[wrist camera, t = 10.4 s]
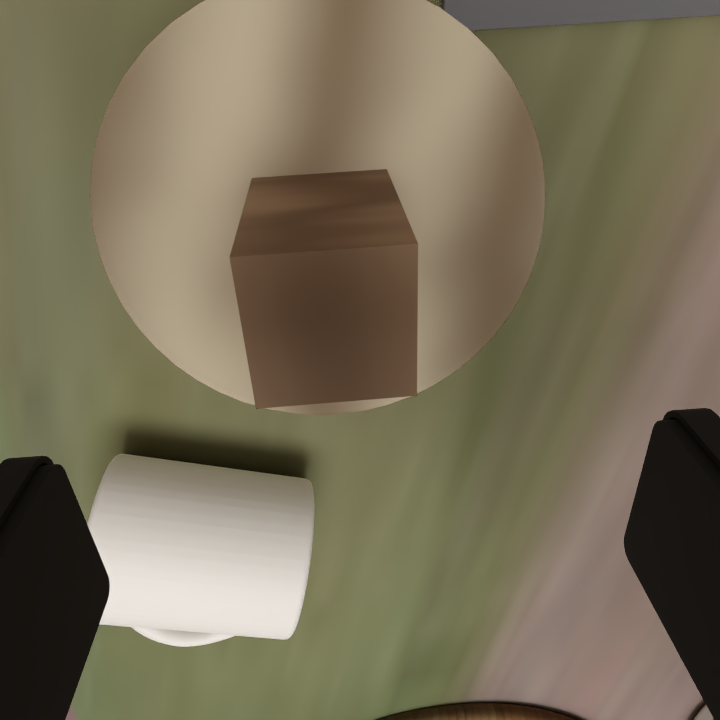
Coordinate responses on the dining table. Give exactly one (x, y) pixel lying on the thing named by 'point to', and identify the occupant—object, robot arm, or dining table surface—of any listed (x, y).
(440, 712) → the wooden plate with food
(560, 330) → the dining table surface
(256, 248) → the lid
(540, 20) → the mat
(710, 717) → the planter
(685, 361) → the dining table surface
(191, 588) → the mug
